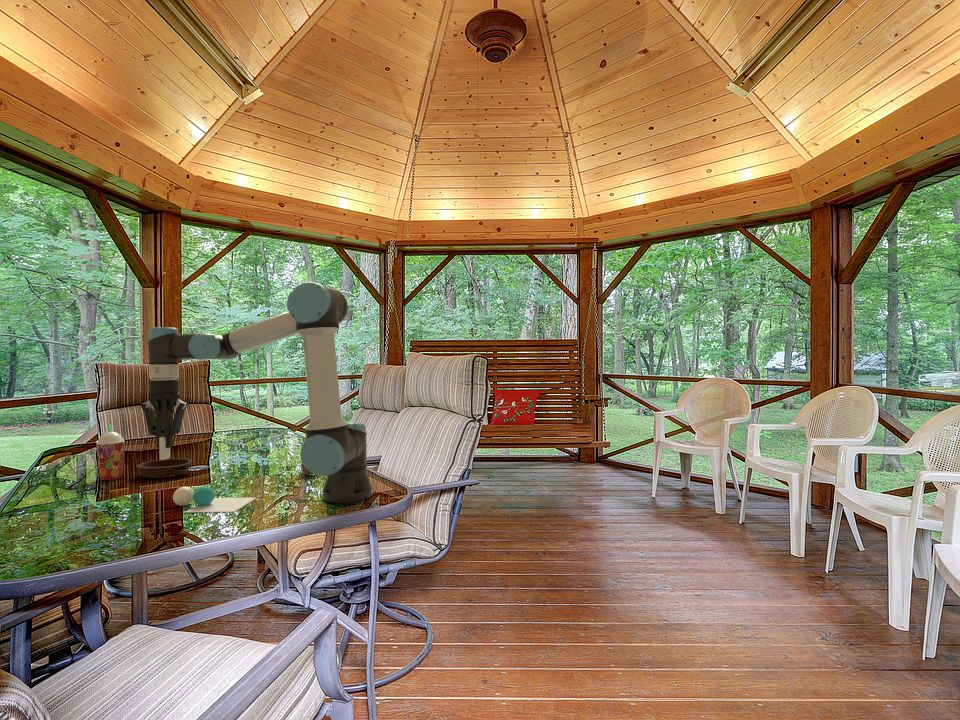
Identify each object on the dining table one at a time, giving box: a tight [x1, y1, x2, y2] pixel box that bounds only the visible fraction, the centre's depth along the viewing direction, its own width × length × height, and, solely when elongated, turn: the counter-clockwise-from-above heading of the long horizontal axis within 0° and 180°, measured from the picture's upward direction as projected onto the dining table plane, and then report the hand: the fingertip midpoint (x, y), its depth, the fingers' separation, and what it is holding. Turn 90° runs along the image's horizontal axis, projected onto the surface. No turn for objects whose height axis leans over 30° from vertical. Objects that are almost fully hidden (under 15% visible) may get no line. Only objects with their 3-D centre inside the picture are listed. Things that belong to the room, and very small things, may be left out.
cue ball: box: [172, 486, 195, 507], centre depth 146 cm, size 6×6×6 cm
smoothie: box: [96, 424, 125, 480], centre depth 180 cm, size 8×8×20 cm
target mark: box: [184, 497, 258, 514], centre depth 146 cm, size 14×14×1 cm
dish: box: [136, 457, 193, 478], centre depth 186 cm, size 18×22×5 cm
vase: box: [300, 461, 313, 475], centre depth 184 cm, size 7×7×9 cm
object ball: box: [193, 485, 215, 506], centre depth 146 cm, size 6×6×6 cm
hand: (165, 458), depth 146 cm, fingers closed
